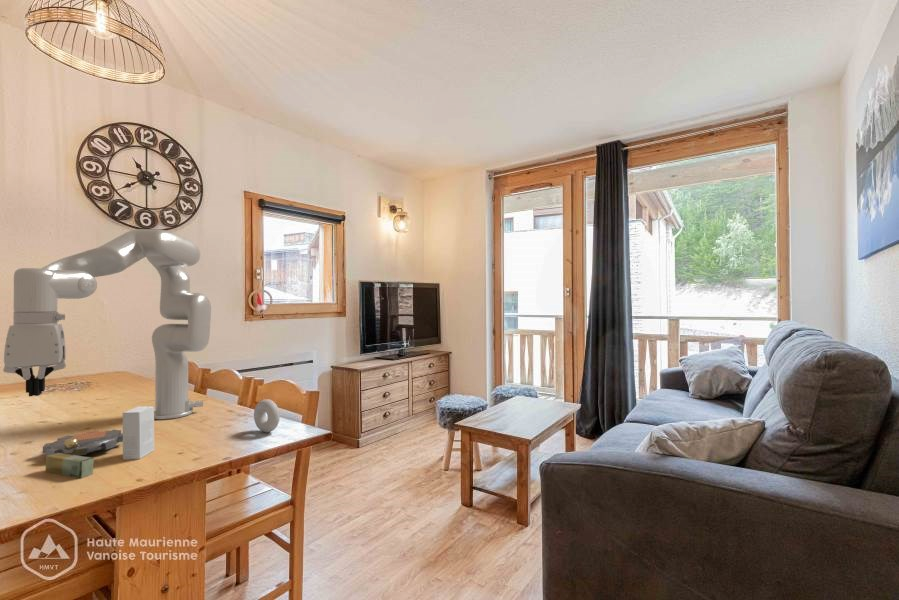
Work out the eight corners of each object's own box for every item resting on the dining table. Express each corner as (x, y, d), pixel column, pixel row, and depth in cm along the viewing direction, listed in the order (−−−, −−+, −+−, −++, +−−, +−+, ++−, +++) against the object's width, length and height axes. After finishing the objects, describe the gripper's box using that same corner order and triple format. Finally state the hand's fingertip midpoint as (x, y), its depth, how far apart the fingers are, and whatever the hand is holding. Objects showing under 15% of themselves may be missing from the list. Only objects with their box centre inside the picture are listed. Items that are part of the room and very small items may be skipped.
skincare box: (137, 451, 109) (137, 406, 109) (154, 450, 110) (154, 405, 110) (121, 460, 103) (121, 412, 103) (139, 459, 104) (139, 412, 104)
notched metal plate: (129, 431, 121) (129, 419, 121) (121, 449, 107) (121, 435, 107) (53, 441, 112) (53, 428, 112) (34, 462, 98) (34, 447, 98)
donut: (282, 433, 125) (282, 400, 125) (272, 436, 122) (272, 402, 122) (261, 427, 130) (261, 396, 130) (251, 430, 127) (251, 398, 127)
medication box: (94, 474, 95) (94, 457, 95) (80, 479, 93) (81, 461, 93) (58, 468, 99) (58, 451, 99) (44, 473, 96) (44, 455, 96)
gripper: (80, 318, 107) (79, 388, 107) (-3, 319, 99) (-3, 395, 99) (73, 319, 101) (72, 394, 101) (-16, 320, 93) (-16, 402, 93)
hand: (35, 394), depth 100 cm, fingers closed
